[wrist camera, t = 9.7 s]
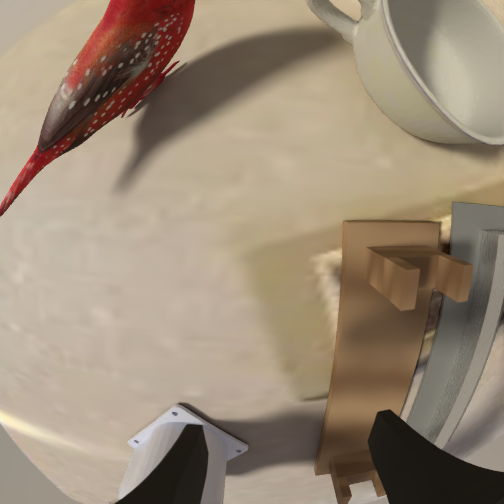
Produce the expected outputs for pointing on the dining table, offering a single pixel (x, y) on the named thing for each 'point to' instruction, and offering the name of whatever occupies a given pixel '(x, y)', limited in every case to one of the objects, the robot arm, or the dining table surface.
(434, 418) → the steel bar
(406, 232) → the hook stands
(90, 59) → the decorative bird figurine
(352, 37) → the teacup
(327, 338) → the dining table surface
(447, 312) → the mat
